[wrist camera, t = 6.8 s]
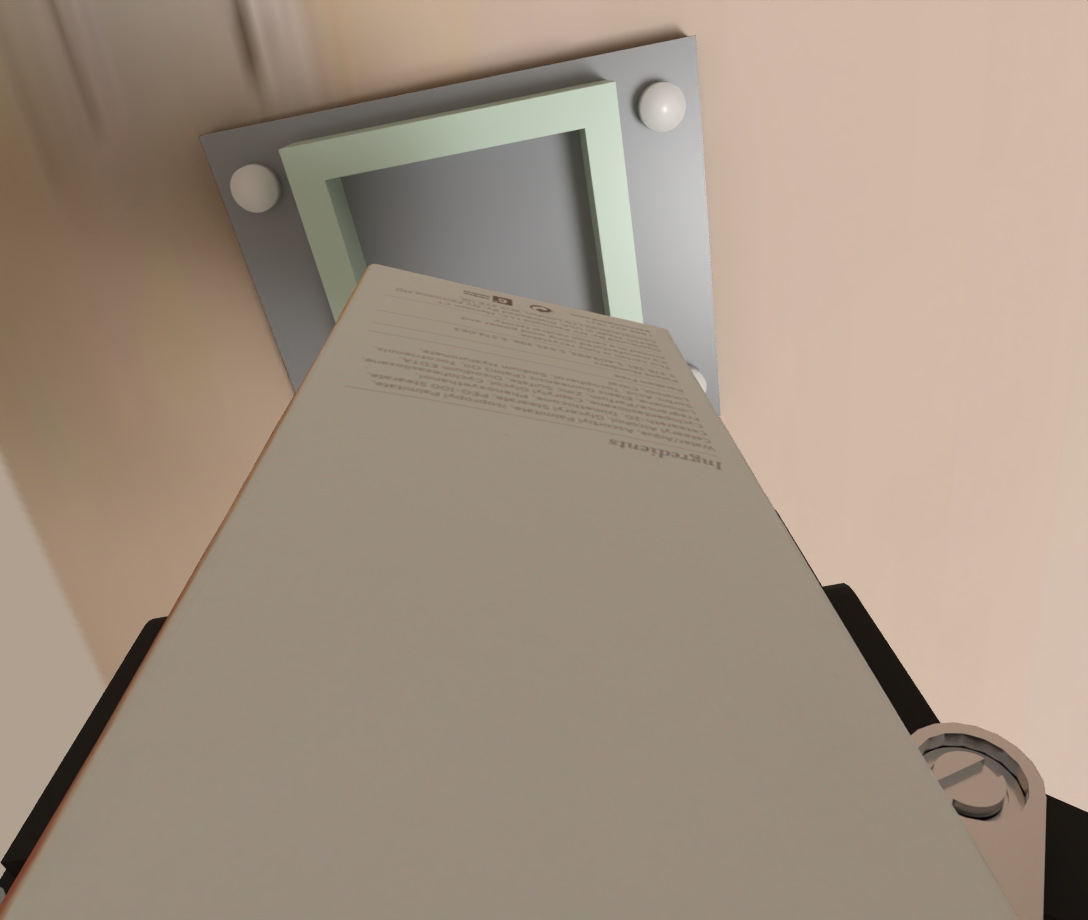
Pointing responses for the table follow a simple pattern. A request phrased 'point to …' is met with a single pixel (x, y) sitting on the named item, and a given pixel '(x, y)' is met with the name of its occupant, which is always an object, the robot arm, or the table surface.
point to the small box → (502, 664)
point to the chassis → (488, 197)
